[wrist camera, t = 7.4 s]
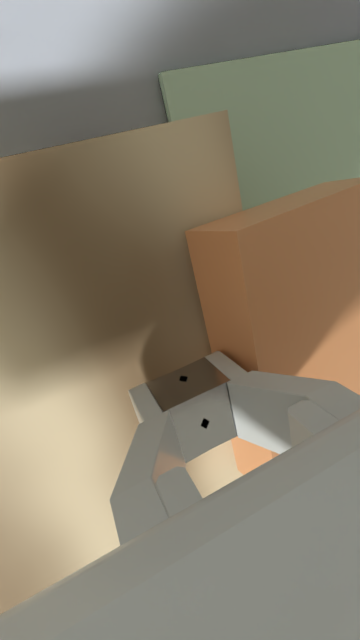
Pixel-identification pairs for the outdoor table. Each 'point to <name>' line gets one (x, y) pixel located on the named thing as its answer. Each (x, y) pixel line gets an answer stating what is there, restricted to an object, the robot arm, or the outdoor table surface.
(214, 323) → the orange rectangular block
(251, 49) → the outdoor table surface
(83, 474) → the plate
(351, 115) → the mat
